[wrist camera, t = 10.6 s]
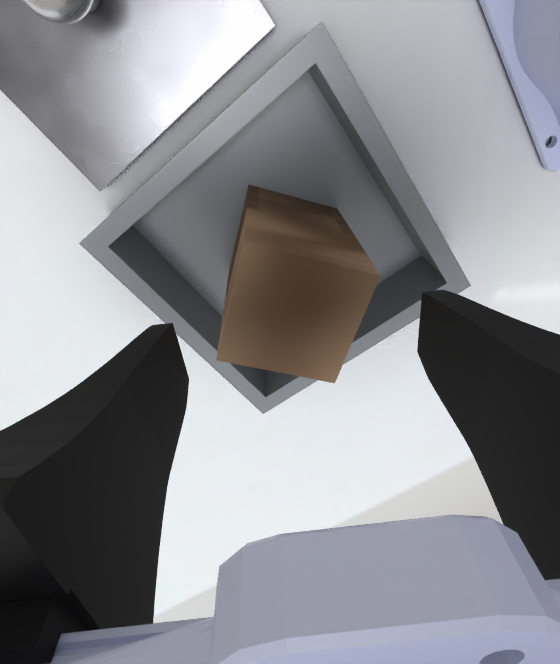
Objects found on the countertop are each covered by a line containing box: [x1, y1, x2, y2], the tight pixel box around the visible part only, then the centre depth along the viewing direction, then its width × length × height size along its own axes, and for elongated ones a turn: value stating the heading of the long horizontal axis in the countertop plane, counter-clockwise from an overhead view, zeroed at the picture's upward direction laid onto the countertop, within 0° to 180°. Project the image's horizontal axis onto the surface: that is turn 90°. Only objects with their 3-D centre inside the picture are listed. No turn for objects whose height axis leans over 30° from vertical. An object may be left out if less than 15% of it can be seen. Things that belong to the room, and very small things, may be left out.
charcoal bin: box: [79, 22, 471, 414], centre depth 19 cm, size 12×12×4 cm
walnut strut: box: [216, 185, 381, 383], centre depth 17 cm, size 4×4×8 cm
